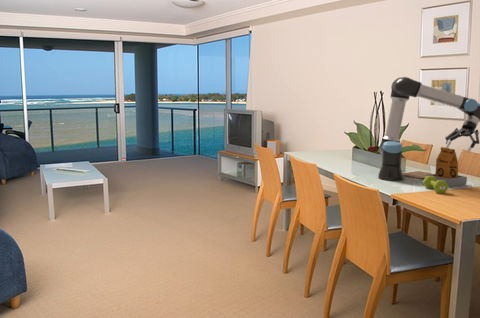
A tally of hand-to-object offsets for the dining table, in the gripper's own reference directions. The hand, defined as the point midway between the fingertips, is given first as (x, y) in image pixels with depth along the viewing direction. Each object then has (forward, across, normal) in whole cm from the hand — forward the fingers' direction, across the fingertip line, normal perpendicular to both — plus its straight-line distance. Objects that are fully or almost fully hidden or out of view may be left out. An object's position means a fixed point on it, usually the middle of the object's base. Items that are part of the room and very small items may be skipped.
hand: (456, 150), depth 269 cm
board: (+13, +24, -16) cm, 31 cm away
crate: (+21, 0, -8) cm, 22 cm away
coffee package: (+21, 0, -8) cm, 22 cm away
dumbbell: (+37, -4, +8) cm, 38 cm away
